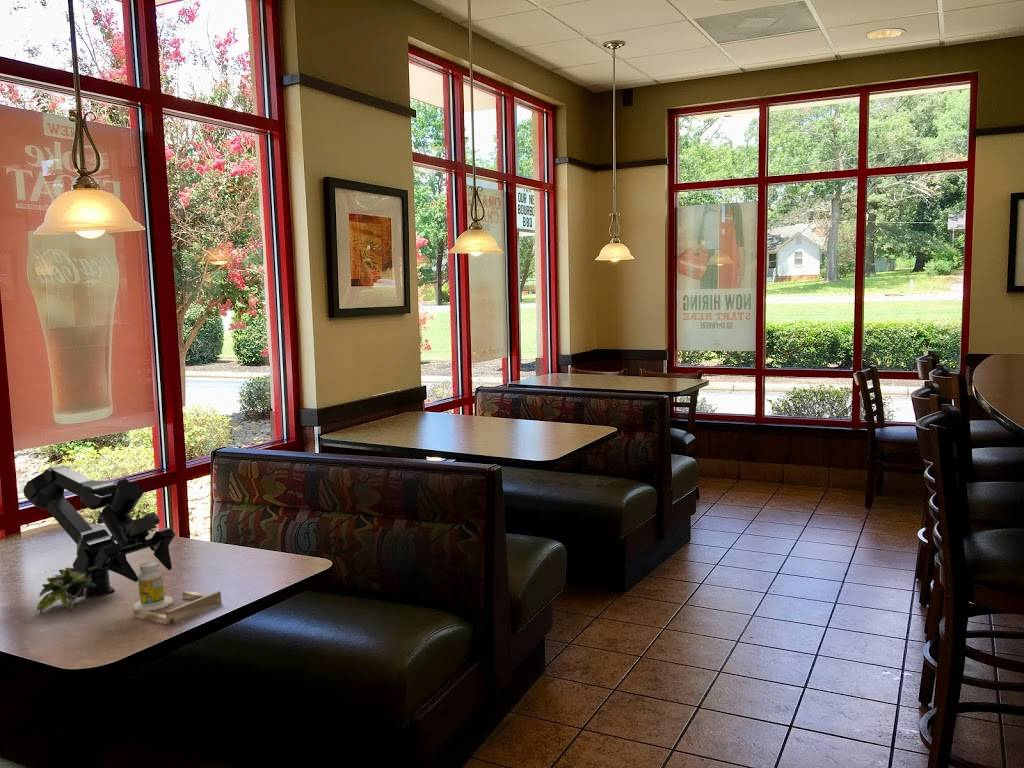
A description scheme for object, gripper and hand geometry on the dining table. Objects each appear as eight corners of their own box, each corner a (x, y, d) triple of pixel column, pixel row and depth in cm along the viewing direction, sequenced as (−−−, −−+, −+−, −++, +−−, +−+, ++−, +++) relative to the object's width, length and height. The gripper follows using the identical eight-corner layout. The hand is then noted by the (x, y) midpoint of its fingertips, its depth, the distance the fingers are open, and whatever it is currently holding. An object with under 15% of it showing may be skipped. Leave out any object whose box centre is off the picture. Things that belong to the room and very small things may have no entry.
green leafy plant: (73, 623, 204) (98, 576, 208) (79, 627, 195) (105, 579, 200) (27, 606, 199) (54, 559, 203) (31, 610, 190) (59, 561, 195)
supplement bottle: (169, 600, 199) (166, 562, 198) (150, 608, 195) (146, 568, 194) (155, 597, 202) (151, 559, 201) (135, 605, 198) (132, 566, 197)
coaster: (128, 605, 199) (127, 603, 199) (166, 595, 205) (166, 593, 205) (139, 614, 192) (139, 612, 192) (178, 604, 198) (178, 602, 198)
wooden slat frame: (134, 616, 191) (133, 604, 190) (186, 596, 203) (185, 584, 203) (169, 625, 184) (168, 612, 184) (221, 603, 197) (220, 591, 197)
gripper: (97, 513, 190) (132, 566, 186) (167, 495, 206) (200, 543, 202) (80, 543, 195) (113, 595, 190) (149, 523, 211) (182, 570, 206)
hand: (154, 574), depth 197 cm, fingers open, 9 cm apart
